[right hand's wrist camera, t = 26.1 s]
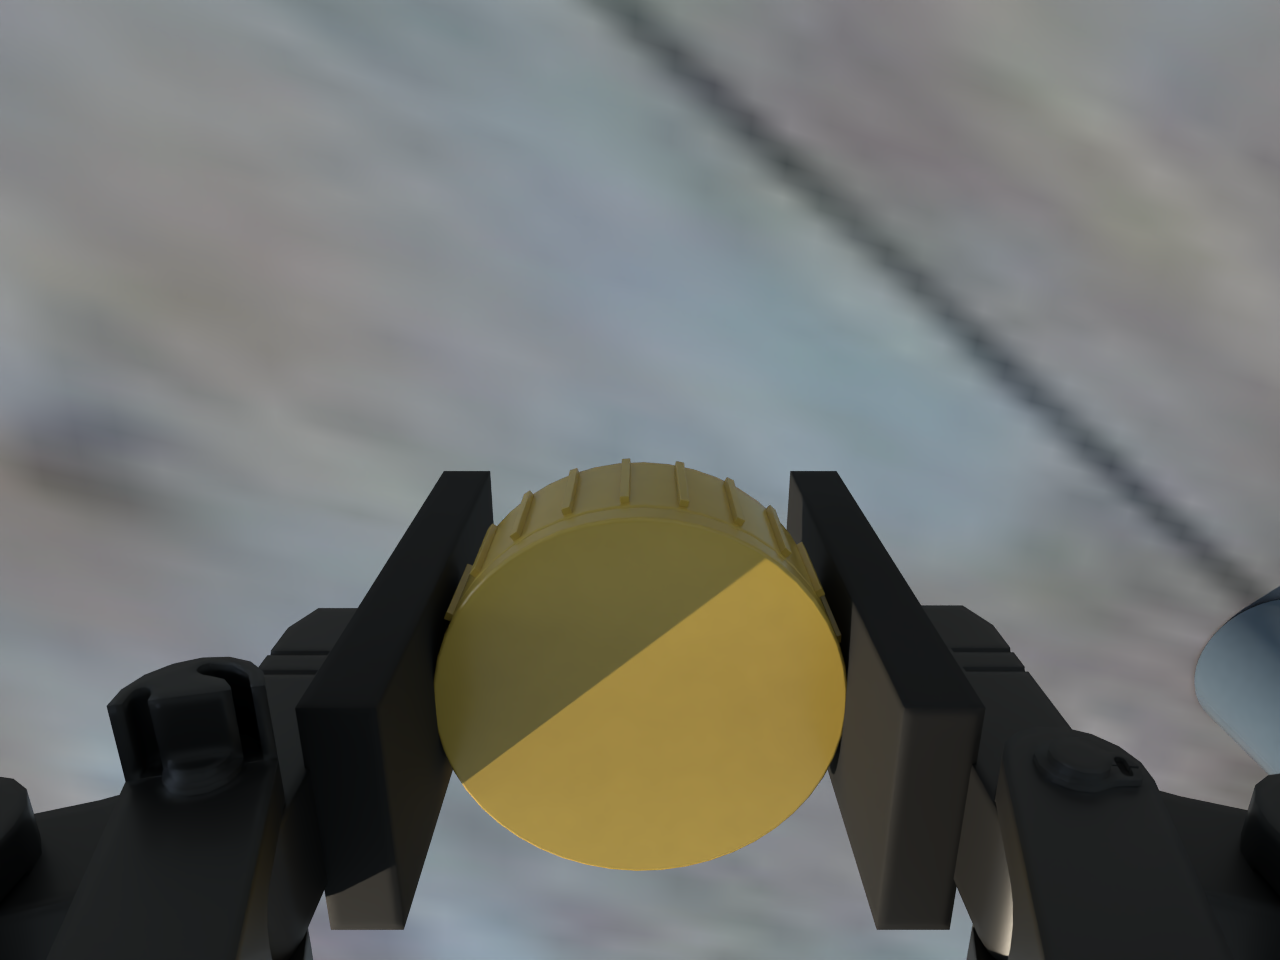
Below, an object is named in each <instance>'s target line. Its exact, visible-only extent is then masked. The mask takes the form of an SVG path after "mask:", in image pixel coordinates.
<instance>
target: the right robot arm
mask: <svg viewBox="0 0 1280 960" xmlns="http://www.w3.org/2000/svg"><path fill="white" fill-rule="evenodd" d="M491 524H493V509H492V493H491V478H490V471H444V472H443V474H442V475H441V477H440V478H439V480H438V482H437V483H436V485H435V486H434V488H433V489H432V491H431V493H430V494H429V496H428V497H427V499H426V501H425V502H424V504H423V505H422V507H421V509H420V510H419V512H418V513H417V515H416V517H415V518H414V520H413V521H412V523H411V524H410V526H409V528H408V529H407V531H406V532H405V534H404V536H403V537H402V539H401V540H400V542H399V544H398V545H397V547H396V548H395V550H394V551H393V553H392V555H391V556H390V558H389V559H388V561H387V563H386V564H385V566H384V567H383V569H382V571H381V572H380V574H379V575H378V577H377V578H376V580H375V582H374V583H373V585H372V586H371V588H370V590H369V591H368V593H367V594H366V596H365V598H364V599H363V601H362V602H361V604H360V605H359V607H358V608H318V609H316V610H315V611H313V612H312V613H310V614H309V615H307V616H306V617H304V618H303V619H301V620H300V621H298V622H296V623H295V624H293V625H292V626H290V627H289V628H288V629H287V630H286V631H285V633H284V634H283V635H282V637H281V638H280V639H279V641H278V642H277V643H276V645H275V646H274V647H273V649H272V650H271V655H267V657H266V658H265V659H264V661H263V662H262V663H261V665H260V666H259V667H257V666H256V665H254V664H253V663H252V662H250V661H246V660H241V659H237V658H232V657H207V658H198V659H194V660H189V661H184V662H179V663H175V664H171V665H169V666H166V667H164V668H161V669H158V670H156V671H153V672H151V673H148V674H146V675H144V676H142V677H141V678H139V679H137V680H136V681H134V682H133V683H131V684H129V685H128V686H126V687H125V688H123V689H121V690H120V692H119V693H118V694H117V695H116V696H115V697H114V698H113V699H112V701H111V702H110V703H109V704H108V705H107V709H108V713H109V717H110V721H111V725H112V729H113V733H114V737H115V741H116V745H117V749H118V753H119V757H120V761H121V765H122V769H123V773H124V777H125V781H126V782H125V784H124V786H123V789H122V791H121V793H120V795H117V796H114V797H110V798H106V799H103V800H99V801H94V802H89V803H84V804H80V805H75V806H70V807H65V808H60V809H55V810H51V811H46V812H41V813H36V814H34V813H33V809H32V806H31V803H30V799H29V796H28V793H27V789H26V788H24V787H23V786H22V785H21V784H19V783H18V782H17V781H15V780H14V779H11V778H4V777H0V960H313V956H312V949H311V943H310V937H309V931H308V926H309V924H310V922H311V919H312V917H313V915H314V912H315V910H316V908H317V905H318V903H319V901H320V899H321V896H322V894H323V892H324V890H325V896H326V902H327V908H328V914H329V920H330V927H331V930H404V927H405V924H406V920H407V917H408V914H409V911H410V907H411V904H412V901H413V898H414V894H415V891H416V888H417V885H418V881H419V878H420V875H421V872H422V868H423V865H424V862H425V859H426V855H427V852H428V849H429V846H430V842H431V839H432V836H433V832H434V829H435V826H436V823H437V819H438V816H439V813H440V810H441V806H442V803H443V800H444V797H445V793H446V790H447V787H448V784H449V780H450V777H451V774H452V771H453V768H452V766H451V764H450V762H449V760H448V758H447V756H446V754H445V752H444V749H443V746H442V743H441V739H440V736H439V733H438V725H437V715H436V705H435V694H434V673H435V667H436V660H437V656H438V653H439V650H440V647H441V644H442V641H443V637H444V634H445V632H446V630H447V627H448V625H449V623H450V621H448V620H446V619H444V617H445V614H446V612H447V610H448V607H449V605H450V603H451V600H452V598H453V596H454V593H455V591H456V589H457V586H458V584H459V582H460V579H461V577H462V575H463V572H464V570H465V568H466V565H467V564H470V565H472V566H473V564H474V561H475V559H476V557H477V554H478V552H479V549H480V547H481V545H482V542H483V540H484V537H485V535H486V532H487V530H488V528H489V527H490V526H491ZM787 531H788V532H789V533H790V535H791V537H792V538H793V540H794V541H795V543H796V544H799V543H800V542H802V543H803V544H804V546H805V548H806V550H807V553H808V555H809V557H810V560H811V562H812V564H813V567H814V569H815V571H816V574H817V576H818V578H819V581H820V583H821V586H822V588H823V590H824V593H825V597H826V600H827V602H828V605H829V607H830V609H831V612H832V614H833V616H834V619H835V621H836V624H837V626H838V628H839V631H840V633H841V642H840V643H839V644H840V648H841V651H842V655H843V658H844V662H845V667H846V676H847V690H846V701H845V712H844V722H843V731H842V736H841V739H840V742H839V745H838V747H837V750H836V753H835V756H834V758H833V760H832V762H831V764H830V766H829V767H828V772H829V775H830V779H831V782H832V785H833V788H834V792H835V795H836V798H837V801H838V805H839V808H840V811H841V814H842V818H843V821H844V824H845V828H846V831H847V834H848V837H849V841H850V844H851V847H852V850H853V854H854V857H855V860H856V863H857V867H858V870H859V873H860V876H861V880H862V883H863V886H864V889H865V893H866V896H867V899H868V902H869V906H870V909H871V912H872V915H873V919H874V922H875V925H876V928H877V930H950V924H951V918H952V911H953V905H954V899H955V893H956V887H957V888H958V891H959V893H960V895H961V898H962V900H963V902H964V904H965V907H966V909H967V911H968V914H969V916H970V918H971V920H972V923H973V926H972V931H971V937H970V943H969V949H968V954H967V960H1280V773H1279V774H1272V775H1268V776H1267V777H1265V778H1264V779H1263V780H1262V781H1260V782H1259V783H1258V784H1256V785H1255V788H1254V792H1253V795H1252V798H1251V802H1250V805H1249V808H1248V810H1243V809H1239V808H1234V807H1229V806H1224V805H1219V804H1214V803H1210V802H1205V801H1200V800H1195V799H1190V798H1185V797H1181V796H1177V795H1173V794H1170V793H1166V792H1162V791H1159V789H1158V787H1157V785H1156V783H1155V781H1154V779H1153V778H1152V777H1151V775H1150V774H1149V773H1148V771H1147V770H1146V769H1145V767H1144V766H1143V765H1142V763H1141V762H1140V761H1138V760H1137V759H1135V758H1134V757H1133V756H1131V755H1130V754H1129V753H1127V752H1126V751H1124V750H1123V749H1122V748H1120V747H1119V746H1117V745H1115V744H1112V743H1110V742H1108V741H1106V740H1103V739H1101V738H1099V737H1097V736H1095V735H1092V734H1089V733H1085V732H1080V731H1076V730H1072V729H1071V727H1070V726H1069V725H1068V723H1067V722H1066V721H1065V720H1064V718H1063V717H1062V716H1061V714H1060V713H1059V712H1058V710H1057V709H1056V708H1055V706H1054V705H1053V704H1052V702H1051V701H1050V700H1049V698H1048V697H1047V696H1046V694H1045V693H1044V692H1043V691H1042V689H1041V688H1040V687H1039V685H1038V684H1037V683H1036V681H1035V680H1034V679H1033V677H1032V676H1031V675H1030V673H1029V672H1025V669H1024V668H1025V667H1024V665H1023V664H1022V663H1021V661H1020V660H1019V659H1018V658H1017V656H1016V655H1015V654H1014V652H1010V647H1009V646H1008V644H1007V643H1006V642H1005V640H1004V639H1003V638H1002V636H1001V635H1000V634H999V632H998V631H997V630H996V628H995V627H994V626H993V625H992V624H990V623H989V622H987V621H986V620H984V619H983V618H981V617H980V616H978V615H977V614H975V613H973V612H972V611H970V610H969V609H967V608H966V607H964V606H921V605H920V603H919V601H918V600H917V598H916V597H915V595H914V593H913V592H912V590H911V589H910V587H909V585H908V584H907V582H906V581H905V579H904V578H903V576H902V574H901V573H900V571H899V570H898V568H897V566H896V565H895V563H894V562H893V560H892V558H891V557H890V555H889V554H888V552H887V551H886V549H885V547H884V546H883V544H882V543H881V541H880V539H879V538H878V536H877V535H876V533H875V531H874V530H873V528H872V527H871V525H870V524H869V522H868V520H867V519H866V517H865V516H864V514H863V512H862V511H861V509H860V508H859V506H858V505H857V503H856V501H855V500H854V498H853V497H852V495H851V493H850V492H849V490H848V489H847V487H846V485H845V484H844V482H843V481H842V479H841V478H840V476H839V474H838V473H837V471H790V486H789V502H788V517H787Z"/></svg>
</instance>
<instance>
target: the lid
mask: <svg viewBox="0 0 1280 960" xmlns="http://www.w3.org/2000/svg"><path fill="white" fill-rule="evenodd" d="M444 619H446V620H448V621H450V623H449V625H448V627H447V630H446V632H445V634H444V637H443V641H442V644H441V647H440V650H439V653H438V656H437V660H436V667H435V673H434V694H435V705H436V715H437V725H438V733H439V736H440V739H441V743H442V746H443V749H444V752H445V754H446V756H447V758H448V760H449V762H450V764H451V766H452V768H453V770H454V772H455V774H456V775H457V777H458V778H459V780H460V781H461V783H462V784H463V786H464V787H465V789H466V790H467V791H468V793H469V794H470V795H471V796H472V797H473V798H474V799H475V801H476V802H477V803H478V804H479V805H480V806H481V807H482V808H483V809H484V810H485V811H486V812H487V813H488V814H489V815H490V816H492V817H493V818H494V819H495V820H496V821H497V822H498V823H499V824H501V825H502V826H504V827H505V828H506V829H508V830H509V831H511V832H512V833H514V834H515V835H517V836H518V837H519V838H521V839H523V840H525V841H527V842H529V843H531V844H533V845H534V846H536V847H538V848H540V849H542V850H545V851H547V852H550V853H552V854H555V855H557V856H560V857H562V858H565V859H569V860H572V861H576V862H579V863H583V864H586V865H592V866H598V867H603V868H609V869H620V870H635V871H639V870H663V869H670V868H677V867H685V866H689V865H693V864H697V863H701V862H706V861H710V860H713V859H715V858H718V857H721V856H724V855H726V854H729V853H732V852H734V851H736V850H738V849H740V848H742V847H744V846H746V845H748V844H750V843H752V842H754V841H756V840H758V839H759V838H761V837H762V836H764V835H766V834H767V833H769V832H770V831H772V830H773V829H775V828H776V827H777V826H779V825H780V824H781V823H782V822H783V821H785V820H786V819H787V818H788V817H789V816H791V815H792V814H793V813H794V812H795V811H796V810H797V809H798V808H799V807H800V806H801V805H802V804H803V803H804V802H805V800H806V799H807V798H808V797H809V796H810V795H811V794H812V792H813V791H814V789H815V788H816V787H817V785H818V784H819V782H820V781H821V780H822V778H823V777H824V775H825V773H826V771H827V769H828V767H829V766H830V764H831V762H832V760H833V758H834V756H835V753H836V750H837V747H838V745H839V742H840V739H841V736H842V731H843V722H844V712H845V701H846V690H847V676H846V667H845V662H844V658H843V655H842V651H841V648H840V644H839V643H840V642H841V633H840V631H839V628H838V626H837V624H836V621H835V619H834V616H833V614H832V612H831V609H830V607H829V605H828V602H827V600H826V597H825V593H824V590H823V588H822V586H821V583H820V581H819V578H818V576H817V574H816V571H815V569H814V567H813V564H812V562H811V560H810V557H809V555H808V553H807V550H806V548H805V546H804V544H803V543H802V542H800V543H799V544H796V543H795V541H794V540H793V538H792V537H791V535H790V533H789V532H788V531H787V530H786V529H785V528H784V526H783V525H782V524H781V523H780V521H779V518H778V516H777V513H776V510H775V509H774V508H773V507H772V506H771V505H769V506H768V507H767V508H765V507H764V506H763V505H761V504H760V503H759V502H758V501H757V500H755V499H754V498H752V497H751V496H749V495H748V494H746V493H745V492H743V491H742V490H740V489H739V488H737V487H735V483H734V480H732V479H730V478H728V477H727V478H726V479H725V481H723V480H721V479H719V478H717V477H714V476H711V475H708V474H705V473H702V472H699V471H697V470H694V469H689V468H685V467H684V463H683V462H677V461H676V463H675V465H670V464H659V463H646V462H640V463H631V462H630V459H622V463H619V464H613V465H607V466H601V467H595V468H591V469H588V470H585V471H582V472H579V471H578V469H577V468H576V469H573V470H570V472H569V476H567V477H565V478H562V479H560V480H558V481H556V482H553V483H551V484H549V485H547V486H546V487H544V488H542V489H541V490H539V491H538V492H536V493H534V494H533V493H532V492H531V491H528V492H527V493H525V494H524V496H523V499H522V501H521V504H519V505H518V506H517V507H516V508H515V509H513V510H512V511H511V512H510V513H509V514H508V515H507V516H506V517H505V518H504V519H503V520H502V522H501V523H500V524H499V525H498V526H496V525H494V524H491V526H490V527H489V528H488V530H487V532H486V535H485V537H484V540H483V542H482V545H481V547H480V549H479V552H478V554H477V557H476V559H475V561H474V564H473V566H472V565H470V564H467V565H466V568H465V570H464V572H463V575H462V577H461V579H460V582H459V584H458V586H457V589H456V591H455V593H454V596H453V598H452V600H451V603H450V605H449V607H448V610H447V612H446V614H445V617H444Z"/></svg>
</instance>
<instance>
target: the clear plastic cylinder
mask: <svg viewBox="0 0 1280 960" xmlns="http://www.w3.org/2000/svg"><path fill="white" fill-rule="evenodd" d="M1194 685H1195V691H1196V695H1197V698H1198V701H1199V703H1200V705H1201V706H1202V708H1203V709H1204V711H1205V712H1206V713H1207V714H1208V715H1209V716H1210V717H1211V718H1212V719H1213V720H1214V721H1215V722H1216V723H1217V724H1218V725H1219V726H1220V727H1221V728H1222V729H1223V730H1224V731H1225V732H1226V733H1227V734H1228V735H1229V736H1230V737H1231V738H1232V739H1233V740H1234V741H1235V742H1236V743H1237V744H1238V745H1239V746H1240V747H1241V748H1242V749H1243V750H1244V751H1245V752H1246V753H1247V754H1248V755H1249V756H1250V757H1251V758H1252V759H1253V760H1254V761H1255V762H1256V763H1257V764H1258V765H1259V766H1260V767H1261V768H1262V769H1263V770H1264V771H1265V772H1266V773H1267V774H1268V775H1272V774H1279V773H1280V599H1279V600H1273V601H1269V602H1266V603H1262V604H1259V605H1257V606H1254V607H1252V608H1249V609H1248V610H1246V611H1244V612H1242V613H1240V614H1238V615H1237V616H1235V617H1234V618H1232V619H1231V620H1230V621H1228V622H1227V623H1226V624H1225V625H1223V626H1222V627H1221V628H1220V629H1219V630H1218V631H1217V632H1216V633H1215V634H1214V635H1213V637H1212V638H1211V639H1210V640H1209V642H1208V643H1207V645H1206V646H1205V648H1204V649H1203V651H1202V653H1201V655H1200V657H1199V660H1198V663H1197V666H1196V670H1195V676H1194Z"/></svg>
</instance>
